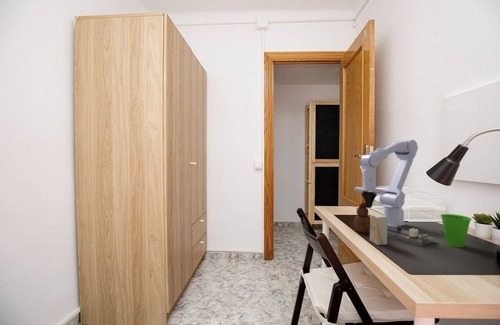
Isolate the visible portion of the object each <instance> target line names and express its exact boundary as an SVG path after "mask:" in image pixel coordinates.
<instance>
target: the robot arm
mask: <svg viewBox="0 0 500 325" xmlns="http://www.w3.org/2000/svg"><path fill="white" fill-rule="evenodd" d="M418 150H419V146H418V142H417V141H416V140H415V139H410V140H395V141H394V142H391V144H389V145H388V146H386V147H384V148H380V147H379V148H378V147H377V148H376V149H375V150H374V151H370V152H369V153H368V154H363V155H362V156H361V157H360V160H359V164H360V166H361V170H362V187H361V186H354V192H361V194H360V195H361V196H362V198H363V200H364V202H365V199H366V208H367V209H371V208H372V207H373V203H374V201H375V199H376V198H377V196H378V195H380V196H379V203H380V204H381V206H382V207H383V208H382V209H383V212H382V215H384V216H386V217H388V222H387V226H390V227H394V228H396V226H397V225H398V226H401V227H402V226H405V225H406V223H405V221H404V220H405V219H404V217H405V216H404V215H405V214H404V213H405V212H404V209H403V208H402V207H403V206H405V205H404V204H405V199H406V194H405V193H404V192H403V191H402V190H403V187H404V185H405V183H406V179H407V177H408V175H409V172H410V169H411V166H412V164H413V163H414V158H415V157H416V155H417V152H418ZM393 153H394V154H395V156H396V158H397V159H399V161H398V162H399V163H398V165H397V168H396V169H395V173H394V175H393V177H392V179H391V183H390V185H389V187H387V188H386V187H385V189H379V188H377V179H376V178H377V174H376V173H377V167H378V165H379V163H380V162H382V161H384V160H386V159H387V158H388V157H389V155H390V154H393Z"/></svg>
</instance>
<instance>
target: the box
mask: <svg viewBox="0 0 500 325" xmlns="http://www.w3.org/2000/svg"><path fill="white" fill-rule="evenodd" d="M369 217H370V230H369V241H370V242H372V243H373V244H375V245H378V246H380V245H388V236H387V226H388V225H387V222H388V217H386V216H384V215H383V214H380V213H371V214H370V215H369Z"/></svg>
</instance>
